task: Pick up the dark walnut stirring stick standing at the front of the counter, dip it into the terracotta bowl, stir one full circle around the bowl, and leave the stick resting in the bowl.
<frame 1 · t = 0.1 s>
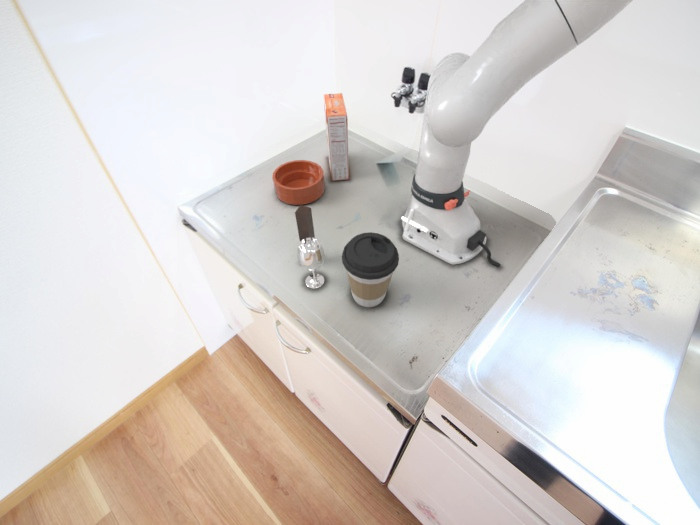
cracker box: (338, 169, 111), on the worktop
stick: (310, 260, 84), on the worktop
bowl: (300, 190, 103), on the worktop
wineglass: (314, 281, 80), on the worktop
coffee cup: (368, 294, 77), on the worktop
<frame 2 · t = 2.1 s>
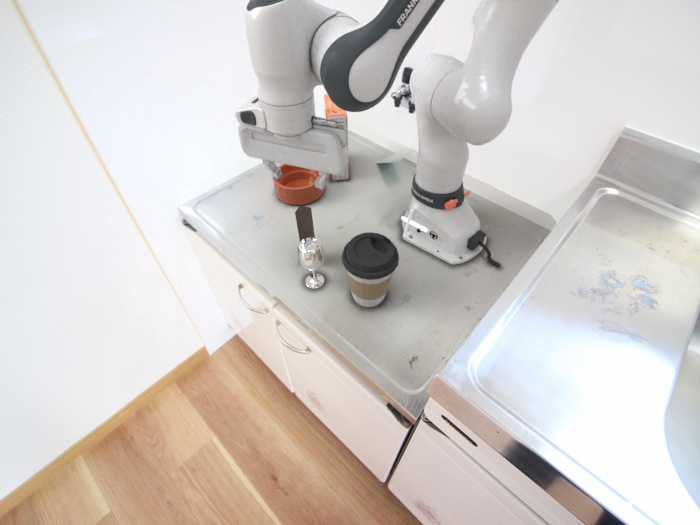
hand: (298, 182, 67), 23 cm above the worktop, tool pointing down, fingers open, 8 cm apart
nothing on the worktop moved.
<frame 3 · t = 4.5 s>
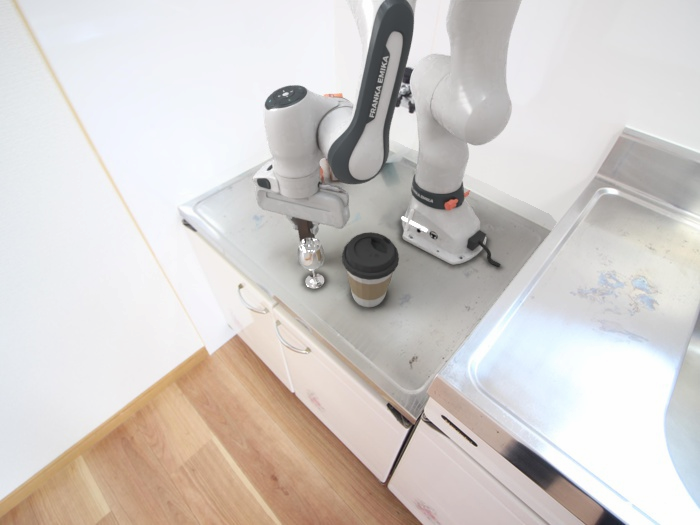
hand: (306, 230, 77), 10 cm above the worktop, tool pointing down, fingers closed on stick, 2 cm apart
stick: (310, 260, 84), on the worktop, touching gripper
everything else where it was.
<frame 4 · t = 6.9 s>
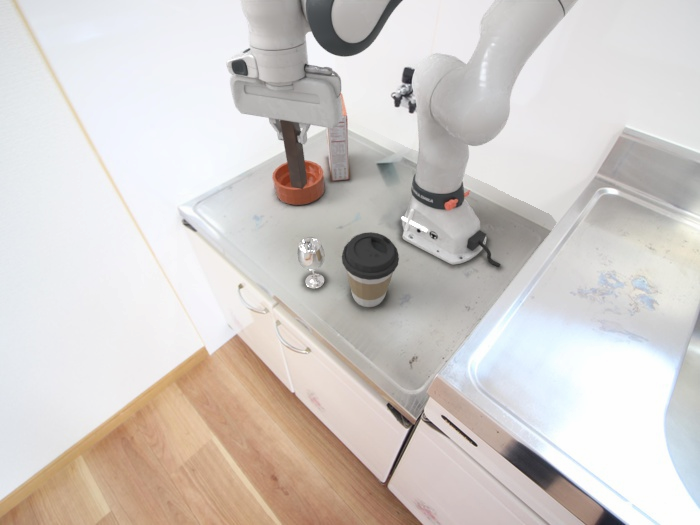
hand: (292, 140, 66), 29 cm above the worktop, tool pointing down, fingers closed on stick, 2 cm apart
stick: (299, 184, 73), point 19 cm above the worktop, touching gripper
everything else where it was.
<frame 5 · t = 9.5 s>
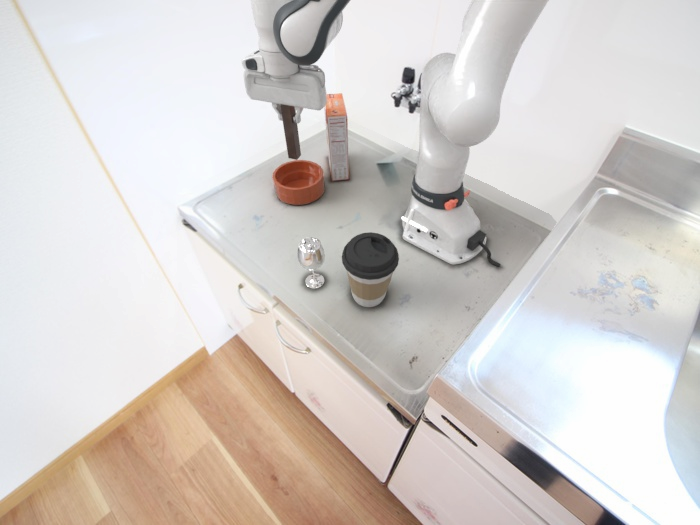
hand: (289, 120, 87), 22 cm above the worktop, tool pointing down, fingers closed on stick, 2 cm apart
stick: (294, 156, 94), point 12 cm above the worktop, touching gripper
everything else where it was.
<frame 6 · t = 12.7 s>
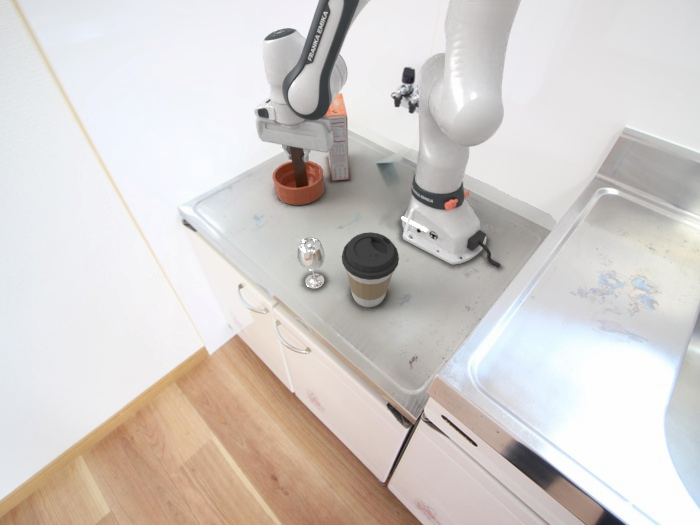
hand: (298, 159, 93), 12 cm above the worktop, tool pointing down, fingers closed on stick, 2 cm apart
stick: (303, 190, 100), point 2 cm above the worktop, touching gripper
everything else where it was.
when the fingers open (11 cm above the worktop, at t = 14.9 s): stick stays where it is, resting on bowl.
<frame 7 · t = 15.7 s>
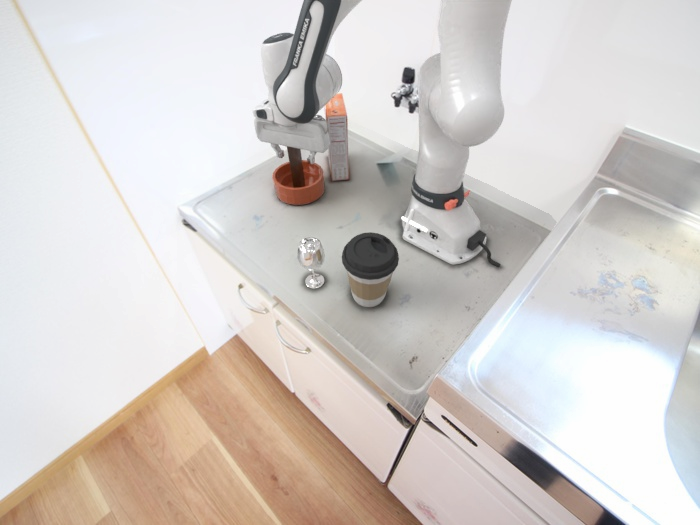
hand: (295, 159, 95), 11 cm above the worktop, tool pointing down, fingers open, 8 cm apart
stick: (299, 189, 102), point 1 cm above the worktop, touching bowl
everything else where it was.
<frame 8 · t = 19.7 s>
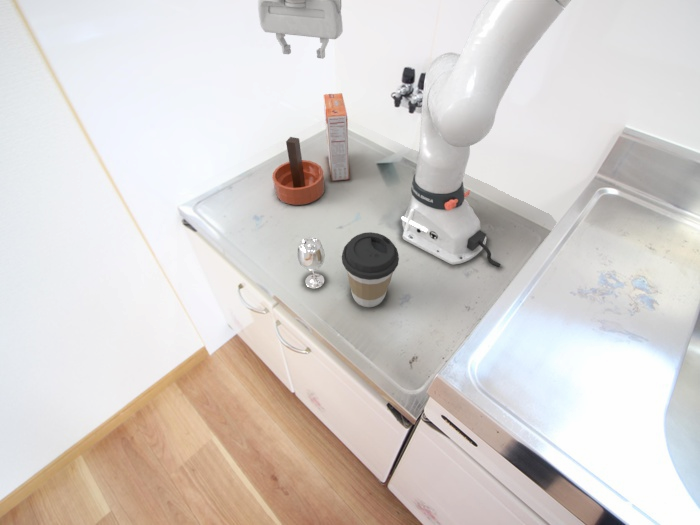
hand: (303, 55, 85), 33 cm above the worktop, tool pointing down, fingers open, 8 cm apart
nothing on the worktop moved.
at the end: stick inside the target area in the bowl (0.1 cm from its centre), point 0.6 cm above the bowl's base; the gripper is holding nothing; stick moved 28.6 cm from its start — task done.
